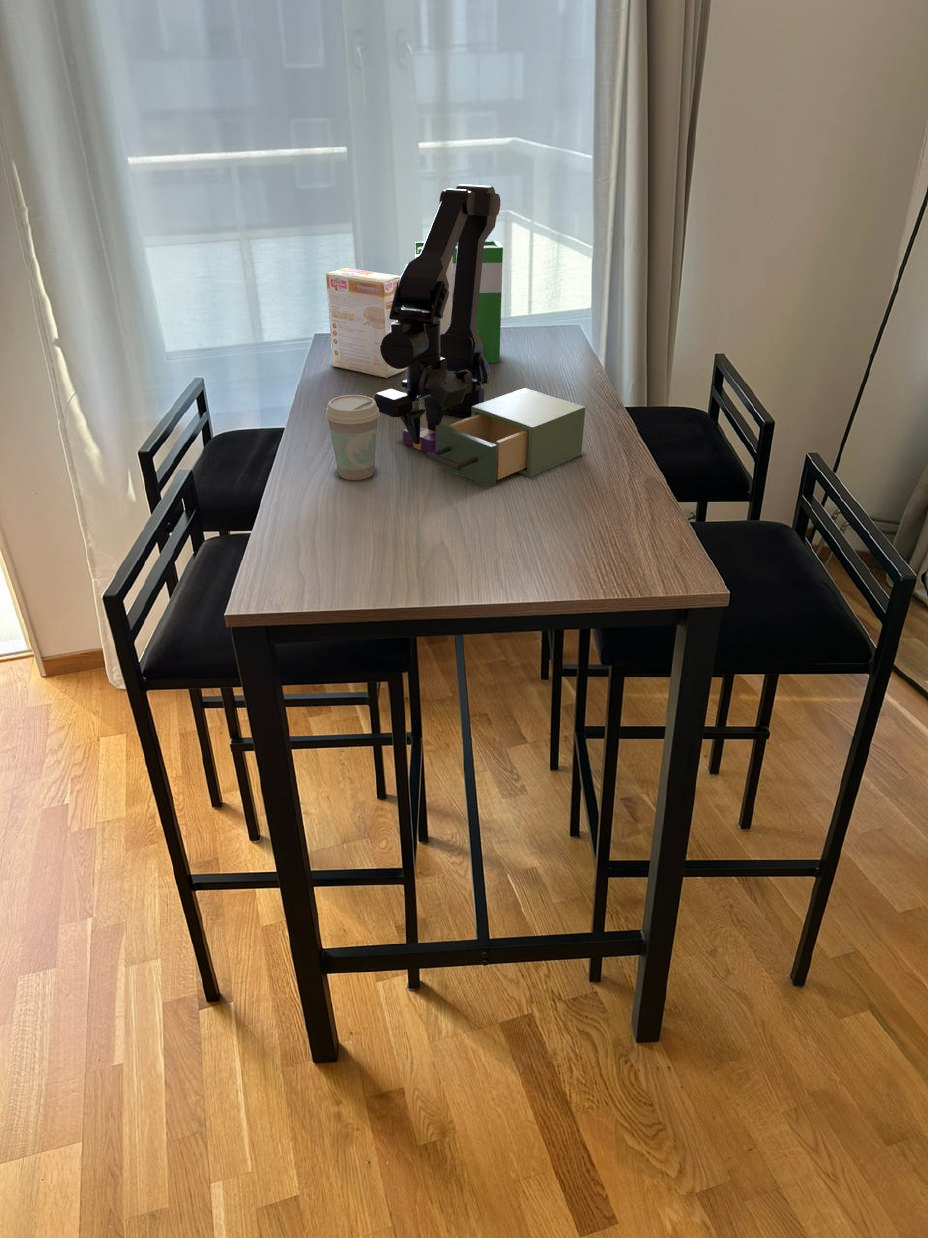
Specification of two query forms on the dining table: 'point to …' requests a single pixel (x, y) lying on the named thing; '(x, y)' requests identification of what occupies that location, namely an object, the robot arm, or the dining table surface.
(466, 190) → the robot arm
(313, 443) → the dining table surface
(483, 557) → the dining table surface
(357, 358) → the coffeecake box
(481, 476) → the drawer
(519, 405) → the cabinet
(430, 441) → the chocolate bar
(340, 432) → the coffee cup
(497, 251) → the green white box
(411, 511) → the dining table surface
